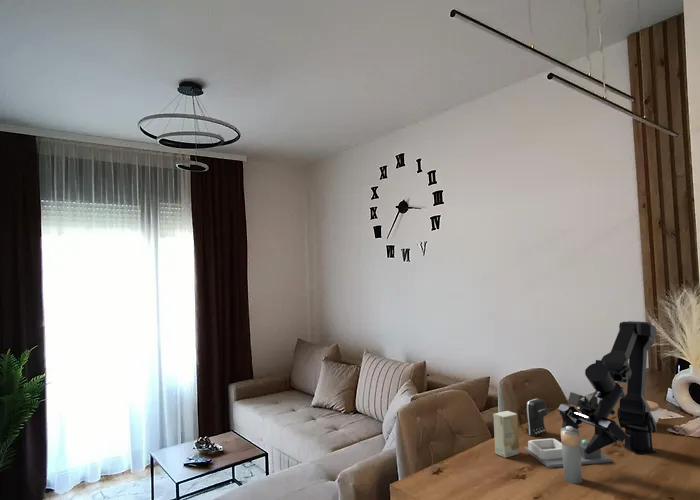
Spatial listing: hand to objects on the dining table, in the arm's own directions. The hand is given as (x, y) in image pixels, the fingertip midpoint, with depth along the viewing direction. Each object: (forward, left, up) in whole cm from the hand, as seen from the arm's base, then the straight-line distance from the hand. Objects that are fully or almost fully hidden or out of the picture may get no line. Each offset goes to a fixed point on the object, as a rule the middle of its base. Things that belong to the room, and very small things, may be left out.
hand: (573, 447), depth 124 cm
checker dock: (-6, -15, -8) cm, 18 cm away
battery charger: (-7, -33, -9) cm, 35 cm away
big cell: (+1, 0, -8) cm, 9 cm away
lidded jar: (-44, -32, -9) cm, 55 cm away
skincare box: (+10, -20, -9) cm, 24 cm away
